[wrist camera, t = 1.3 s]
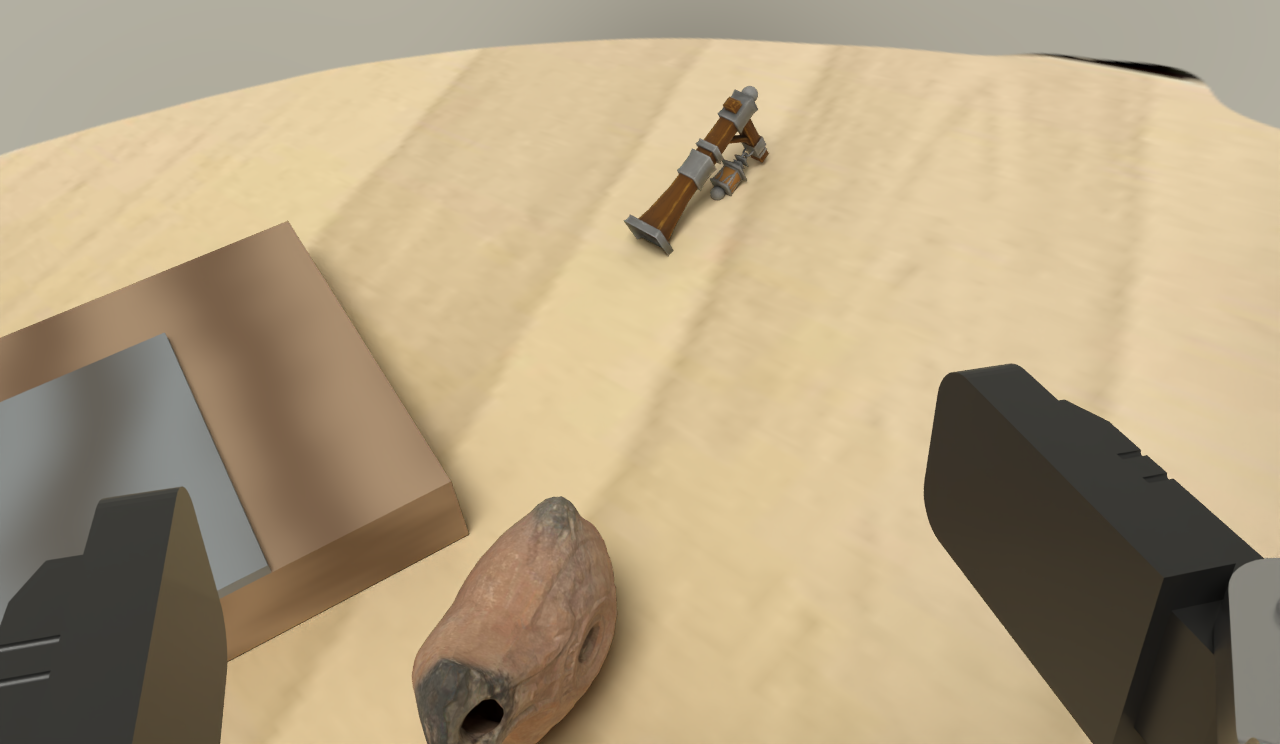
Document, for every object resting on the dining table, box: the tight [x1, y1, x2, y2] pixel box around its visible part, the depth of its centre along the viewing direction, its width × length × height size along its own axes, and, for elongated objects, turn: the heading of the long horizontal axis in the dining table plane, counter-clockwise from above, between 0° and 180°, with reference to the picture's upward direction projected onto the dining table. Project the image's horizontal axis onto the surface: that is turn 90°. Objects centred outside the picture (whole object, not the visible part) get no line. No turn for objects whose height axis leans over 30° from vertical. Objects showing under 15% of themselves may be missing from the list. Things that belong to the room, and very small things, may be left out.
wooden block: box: [0, 221, 469, 662], centre depth 38 cm, size 20×16×3 cm
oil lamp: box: [412, 496, 617, 744], centre depth 30 cm, size 9×4×8 cm, turn 163°
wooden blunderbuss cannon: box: [624, 86, 769, 257], centre depth 47 cm, size 2×8×4 cm, turn 138°
